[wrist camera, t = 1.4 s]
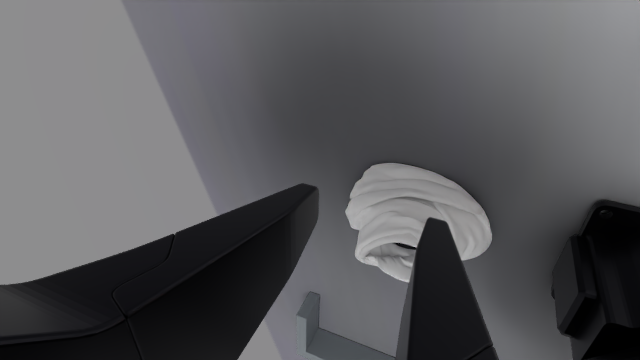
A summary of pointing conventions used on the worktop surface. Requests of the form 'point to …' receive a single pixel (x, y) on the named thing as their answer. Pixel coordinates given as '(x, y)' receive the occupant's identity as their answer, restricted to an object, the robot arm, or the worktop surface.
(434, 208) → the whipped cream
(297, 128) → the worktop surface
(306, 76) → the worktop surface
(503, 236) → the worktop surface
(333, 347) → the tray
